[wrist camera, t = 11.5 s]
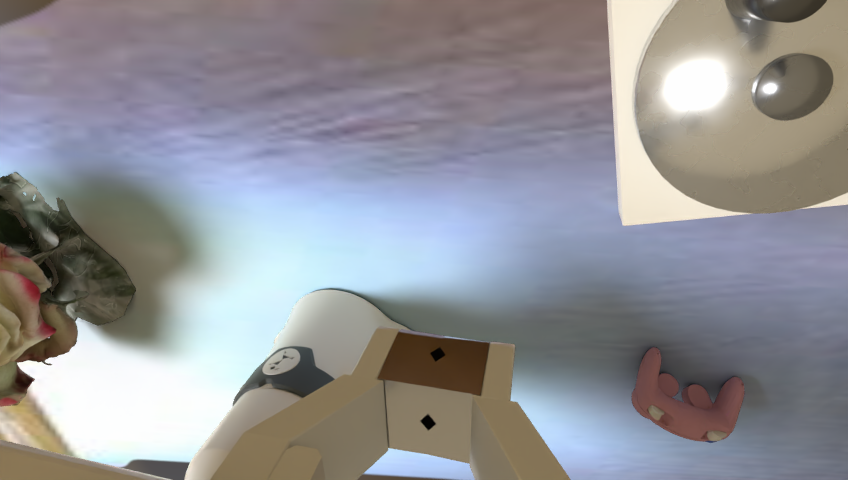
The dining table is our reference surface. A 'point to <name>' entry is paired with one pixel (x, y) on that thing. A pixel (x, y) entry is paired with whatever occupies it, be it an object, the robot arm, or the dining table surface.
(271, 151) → the dining table surface
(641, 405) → the pink curved piece
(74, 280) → the rose bouquet
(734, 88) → the handwheel
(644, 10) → the wheel base
